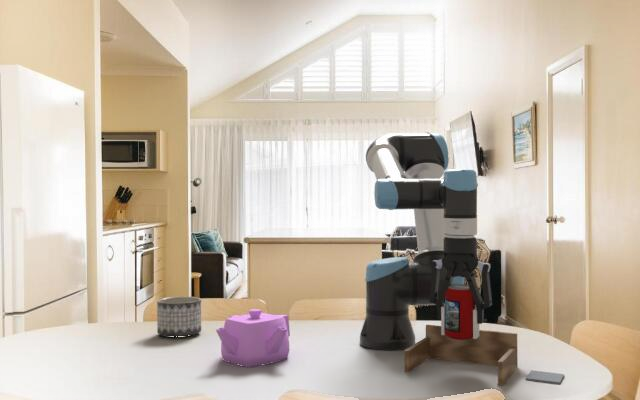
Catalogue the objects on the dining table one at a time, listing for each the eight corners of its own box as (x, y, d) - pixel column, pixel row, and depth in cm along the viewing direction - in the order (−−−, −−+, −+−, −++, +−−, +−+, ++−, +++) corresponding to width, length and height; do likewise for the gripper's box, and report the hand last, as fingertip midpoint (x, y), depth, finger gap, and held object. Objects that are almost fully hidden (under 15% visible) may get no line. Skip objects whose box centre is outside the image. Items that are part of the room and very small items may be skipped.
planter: (210, 333, 183) (210, 298, 183) (179, 341, 173) (179, 304, 173) (179, 329, 190) (179, 295, 190) (148, 336, 179) (147, 301, 179)
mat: (525, 379, 134) (525, 378, 134) (531, 371, 140) (531, 370, 140) (559, 384, 130) (559, 382, 130) (564, 375, 137) (564, 374, 137)
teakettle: (290, 350, 162) (290, 303, 162) (287, 368, 145) (287, 315, 145) (225, 351, 162) (225, 304, 162) (215, 369, 145) (215, 316, 145)
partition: (404, 372, 140) (404, 337, 140) (427, 356, 154) (426, 324, 154) (502, 385, 130) (502, 347, 130) (517, 367, 144) (517, 333, 144)
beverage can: (441, 334, 145) (441, 284, 145) (469, 333, 146) (469, 283, 146) (450, 341, 138) (450, 288, 138) (479, 341, 139) (479, 288, 139)
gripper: (414, 236, 143) (414, 334, 144) (500, 239, 134) (499, 344, 134) (424, 233, 150) (424, 327, 150) (507, 236, 140) (507, 336, 141)
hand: (460, 335), depth 142 cm, fingers closed on beverage can, 7 cm apart
